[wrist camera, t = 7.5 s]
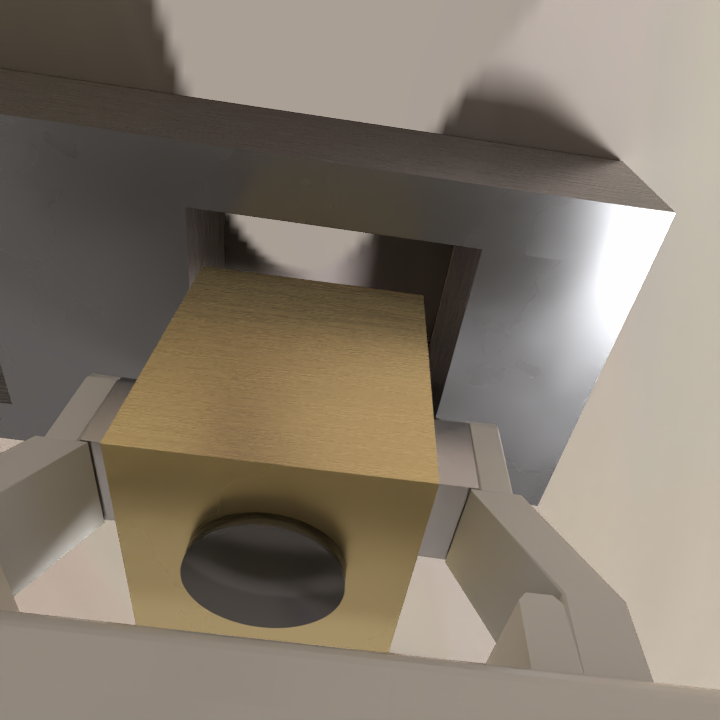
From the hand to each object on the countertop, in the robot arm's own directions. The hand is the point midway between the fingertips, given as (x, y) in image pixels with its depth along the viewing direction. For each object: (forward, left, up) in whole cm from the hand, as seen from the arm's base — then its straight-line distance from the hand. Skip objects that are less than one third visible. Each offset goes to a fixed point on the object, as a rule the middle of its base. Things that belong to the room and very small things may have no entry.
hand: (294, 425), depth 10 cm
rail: (0, +5, -6) cm, 7 cm away
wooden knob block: (0, 0, -2) cm, 2 cm away
